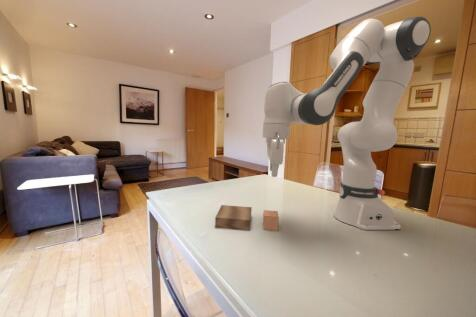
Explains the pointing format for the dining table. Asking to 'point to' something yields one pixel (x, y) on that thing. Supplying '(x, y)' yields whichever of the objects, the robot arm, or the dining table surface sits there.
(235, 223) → the walnut board
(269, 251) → the dining table surface
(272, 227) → the terracotta cube
